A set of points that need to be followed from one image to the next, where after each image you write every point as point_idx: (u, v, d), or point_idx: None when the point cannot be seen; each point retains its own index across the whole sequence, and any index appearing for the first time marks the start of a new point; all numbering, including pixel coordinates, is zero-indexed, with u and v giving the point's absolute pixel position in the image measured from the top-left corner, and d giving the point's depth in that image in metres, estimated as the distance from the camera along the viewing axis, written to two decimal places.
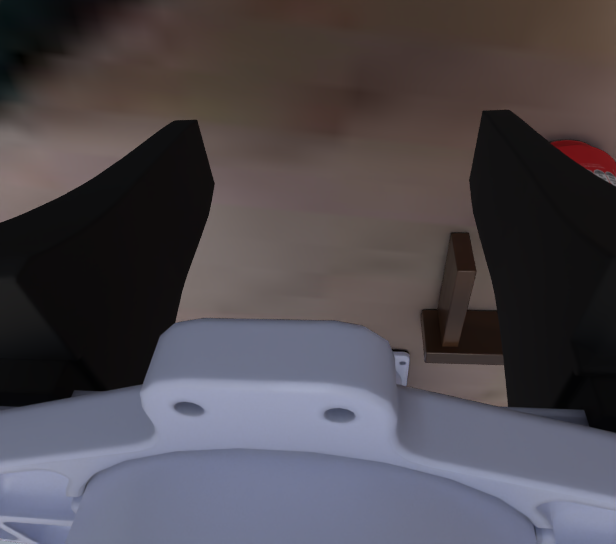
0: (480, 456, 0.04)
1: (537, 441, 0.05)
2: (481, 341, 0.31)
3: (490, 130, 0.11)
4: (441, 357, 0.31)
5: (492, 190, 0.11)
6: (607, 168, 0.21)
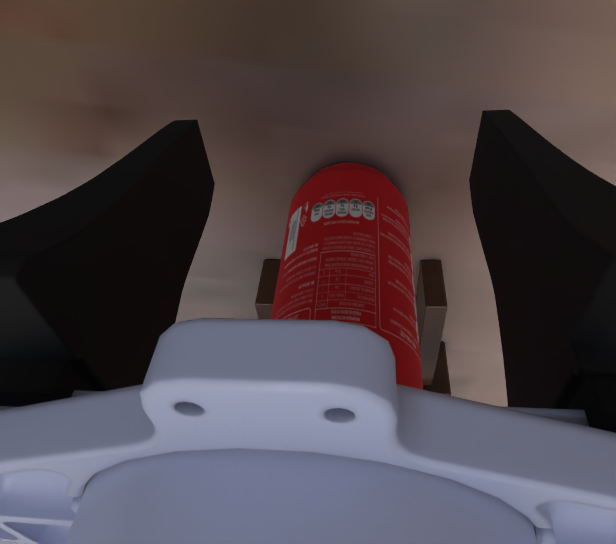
0: (480, 456, 0.04)
1: (537, 441, 0.05)
2: None
3: (490, 130, 0.11)
4: None
5: (492, 190, 0.11)
6: (369, 197, 0.18)
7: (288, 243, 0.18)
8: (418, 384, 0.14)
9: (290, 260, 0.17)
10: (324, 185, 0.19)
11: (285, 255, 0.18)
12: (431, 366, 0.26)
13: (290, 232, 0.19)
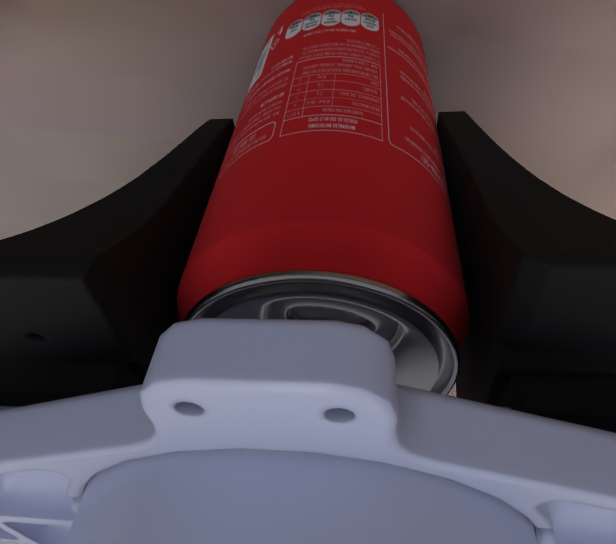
0: (480, 456, 0.04)
1: (537, 441, 0.05)
2: None
3: (443, 131, 0.11)
4: None
5: None
6: (371, 11, 0.13)
7: (253, 78, 0.13)
8: (453, 235, 0.09)
9: (252, 89, 0.12)
10: (306, 3, 0.13)
11: (248, 91, 0.12)
12: None
13: (257, 67, 0.13)
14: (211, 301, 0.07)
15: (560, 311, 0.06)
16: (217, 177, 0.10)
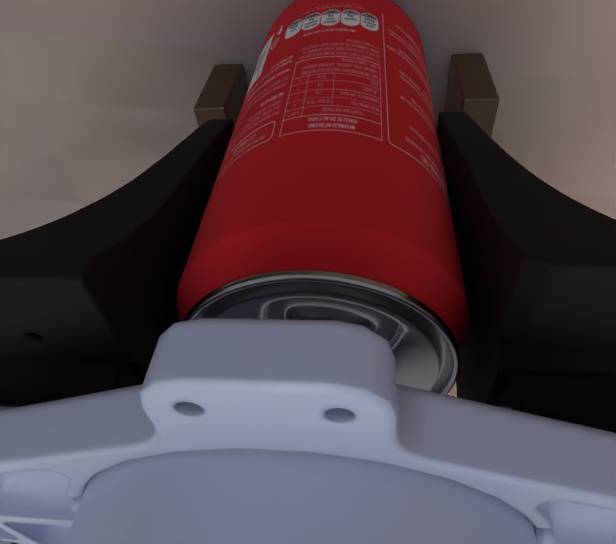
0: (480, 456, 0.04)
1: (537, 441, 0.05)
2: None
3: (443, 131, 0.11)
4: None
5: None
6: (371, 11, 0.13)
7: (252, 78, 0.13)
8: (453, 235, 0.09)
9: (252, 88, 0.12)
10: (306, 3, 0.13)
11: (247, 91, 0.12)
12: None
13: (256, 67, 0.13)
14: (211, 301, 0.07)
15: (561, 311, 0.06)
16: (217, 177, 0.10)
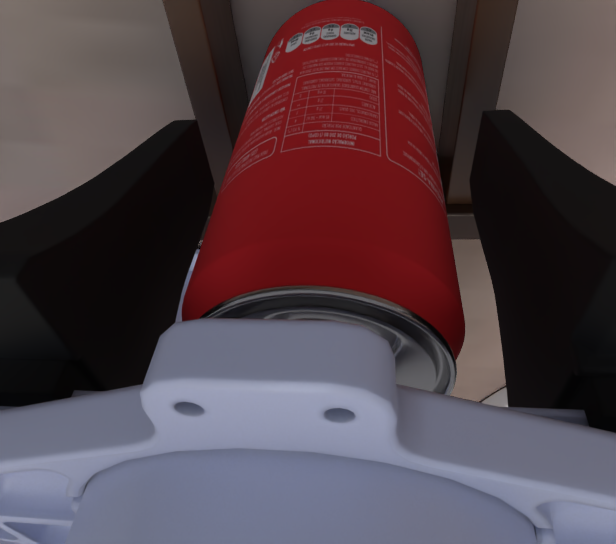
0: (480, 456, 0.04)
1: (537, 441, 0.05)
2: None
3: (490, 130, 0.11)
4: None
5: (492, 190, 0.11)
6: (369, 24, 0.13)
7: (254, 90, 0.13)
8: (449, 248, 0.09)
9: (253, 102, 0.12)
10: (306, 16, 0.14)
11: (249, 104, 0.13)
12: None
13: (258, 79, 0.13)
14: (216, 314, 0.07)
15: None
16: (220, 190, 0.10)
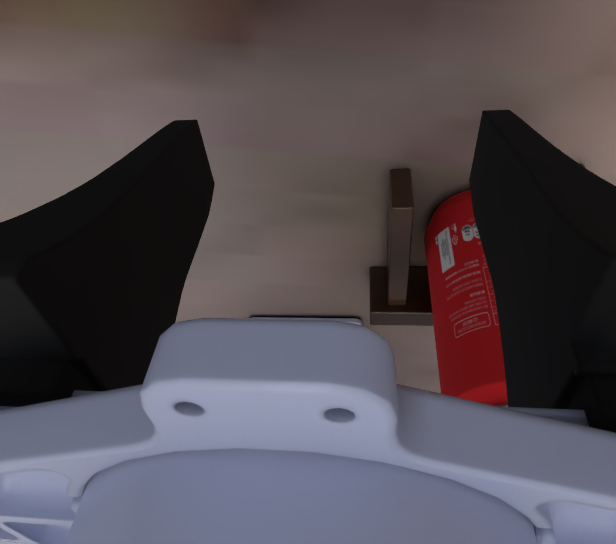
0: (480, 456, 0.04)
1: (537, 441, 0.05)
2: None
3: (490, 130, 0.11)
4: (387, 317, 0.27)
5: (492, 190, 0.11)
6: None
7: (442, 258, 0.22)
8: None
9: (451, 273, 0.21)
10: (467, 209, 0.23)
11: (442, 268, 0.22)
12: None
13: (441, 249, 0.23)
14: None
15: None
16: (449, 333, 0.20)
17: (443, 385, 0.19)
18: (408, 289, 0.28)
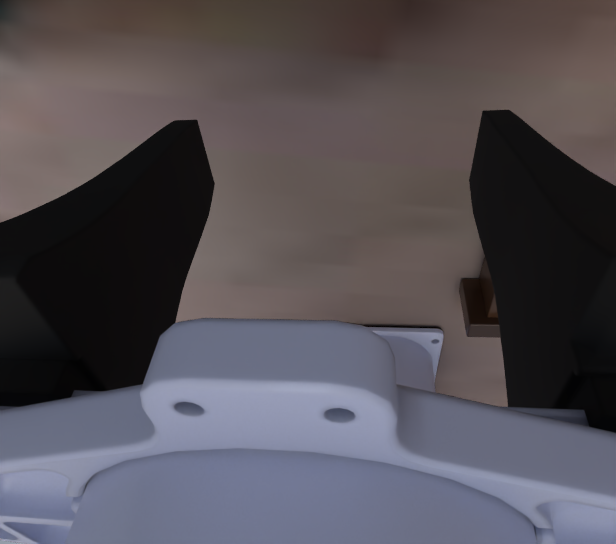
0: (480, 456, 0.04)
1: (537, 441, 0.05)
2: None
3: (490, 130, 0.11)
4: (487, 329, 0.27)
5: (492, 190, 0.11)
6: None
7: None
8: None
9: None
10: None
11: None
12: None
13: None
14: None
15: None
16: None
17: None
18: None
